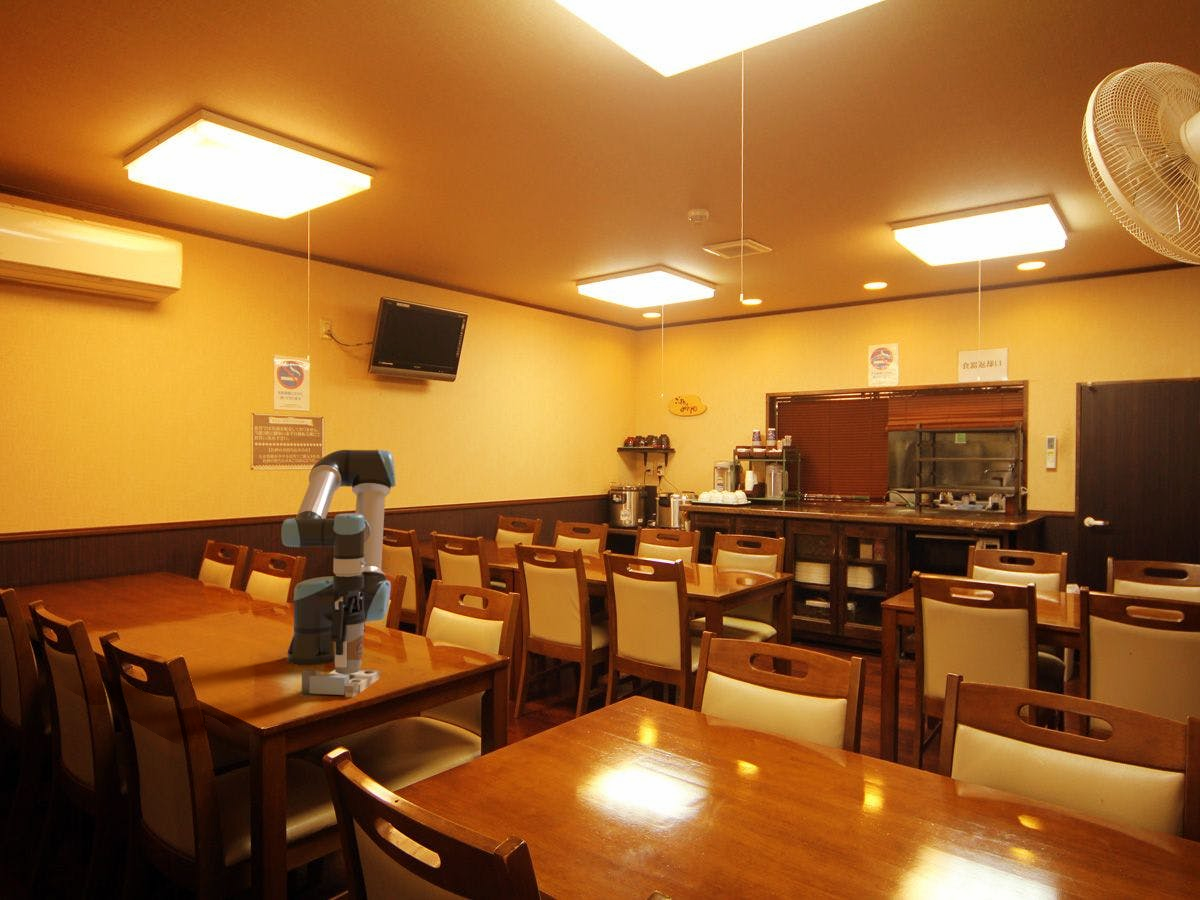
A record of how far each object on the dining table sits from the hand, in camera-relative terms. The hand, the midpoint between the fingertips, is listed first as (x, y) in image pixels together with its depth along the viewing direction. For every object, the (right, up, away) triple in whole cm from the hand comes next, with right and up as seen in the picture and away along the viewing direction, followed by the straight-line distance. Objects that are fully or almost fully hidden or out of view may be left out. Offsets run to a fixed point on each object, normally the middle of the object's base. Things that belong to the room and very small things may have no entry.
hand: (348, 662), depth 194 cm
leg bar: (-3, -5, -8) cm, 10 cm away
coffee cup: (0, -2, 0) cm, 2 cm away
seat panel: (-2, -6, -2) cm, 7 cm away
